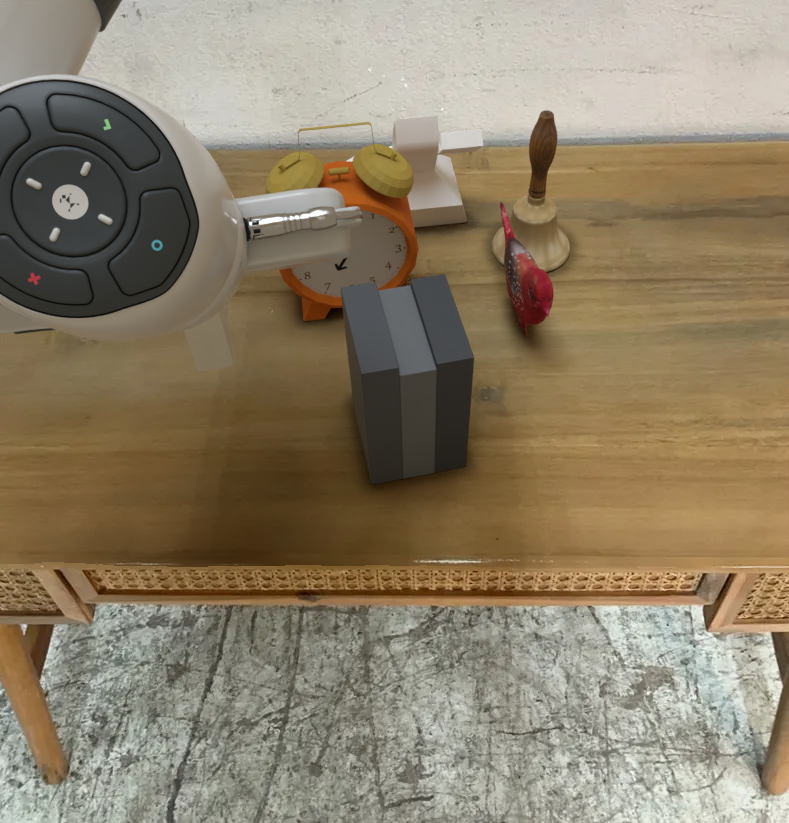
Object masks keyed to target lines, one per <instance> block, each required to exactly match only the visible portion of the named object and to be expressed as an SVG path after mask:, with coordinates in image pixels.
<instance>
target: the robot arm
mask: <svg viewBox="0 0 789 823" xmlns="http://www.w3.org/2000/svg"><path fill="white" fill-rule="evenodd" d="M122 1H123V0H0V335H9V334H14V335H22V334H30V333H37V332H38V333H39V332H50V331H57V332H60V333H63V334H65V335H69V336H73V337H77V338H83V339H87V340H92V341H99V342H111V343H112V342H116V343H117V342H120V343H121V342H123V343H125V342H134V341H143V340H149V339H152V338H157V337H161V336H165V335H170V334H174V333H179V332H184V331H183V330H187V329H190V328H193V327H195V326H198V325H200V324H202V323H204V322H206V321H208V320H209V319H211V318H212V317H213V316H215V315H216V314H217V313H218V312H220V311H221V310H222V309H223V308H224V307H225V306H226V305H227V306H228V304H229V302H230V301H231V300H232V299H233V298H234V296H235V294H236V293H237V291H238V289H239V287H240V286H241V283H242V281H243V279H244V276H248V275H254V274H260V273H261V274H262V273H266V272H267V273H268V272H272V271H273V272H274V271H279V270H280V269H287V268H293V267H299V266H306V265H312V264H318V263H325V262H331V261H336V260H341V259H344V258H347V257H349V256H350V255H351V254H352V244H351V237H350V230H349V228H352V227H355V226H358V225H360V224H361V222H362V217H363V213H362V212H361V211H360V208H359V207H357V206H355V207H347V208H346V207H345V202H344V198H343V196H342V194H341V193H340V192H339V191H337V190H336V189H333V188H310V189H298V190H291V191H284V192H277V193H270V194H267V193H264V194H258V195H252V196H251V195H250V196H244V197H243V196H242V197H237V198H235V196H234V194H233V192H232V190H231V188H230V187H229V184H228V182H227V179H226V177H225V176H224V174H223V172H222V171H221V168H220V166H219V165H218V163H217V162H216V160H215V159H214V158H213V156H212V155H211V154H210V152H209V151H208V149H207V148H206V147H205V146H204V144H203V143H202V142H201V141H200V140H199V139H198V138H197V137H196V136H195V135H194V134H193V132H191V131H190V130H189V129H188V128H187V127H186V126H185V127H184V126H183V125H182V124H181V123H180V122H178V121H177V120H178V119H176V118H175V117H173V116H172V114H169V113H168V112H166V110H163V109H162V108H160V107H158V106H157V105H155V104H154V103H152V102H150V101H149V100H147V99H146V98H144V97H142V96H140V95H138V94H136V93H135V92H132V91H129V90H128V89H125V88H123V87H121V86H118V85H116V84H113V83H110V82H107V81H104V80H100V79H98V78H93V77H88V76H85V75H84V76H83V75H80V74H81V71H82V69H83V67H84V65H85V63H86V61H87V57H88V56H89V54H90V51H91V50H92V47H93V45H94V44H95V41H96V39H97V36H98V34H99V33H102V32H104V31H105V30H106V28H107V27H108V25H109V23H110V21H111V19H112V18H113V16H114V15H115V14H116V12H117V10H118V8H119V6H120V5H121V3H122Z"/></svg>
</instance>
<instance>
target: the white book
mask: <svg viewBox="0 0 789 823" xmlns="http://www.w3.org/2000/svg"><path fill="white" fill-rule="evenodd" d="M176 120H177V121H178V122H180V123H181V124H182V125H183V126H184V127H186V124H185V120H184V119H183V118H181V119H176ZM230 328H231V327H230V320H229V312H228V304H227V305H226V306H225V307H224V308H223V309H222V310H221V311H220V312H218V313H217V314H216V315H215V316H213V317H212V318H211V319H209V320H208V321H206V322H204V323H202V324H200V325H198V326H195V327H193V328H190V329H187V330H183V331H182V332H183V334H184V337H185V341H186V343H187V346H188V349H189V352H190V355H191V359H192V361H193V364H194V367H195V371H196V372H197V373H203V372H208V371H214V370H220V369H226V368H232V367H235V362H234V354H233V346H232V345H233V344H232V337H231V329H230Z"/></svg>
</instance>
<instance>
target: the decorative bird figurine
mask: <svg viewBox="0 0 789 823" xmlns="http://www.w3.org/2000/svg"><path fill="white" fill-rule="evenodd" d="M499 210H500V216H501V223H502V227H503V228H504V234H505V253H504V264H505V266H504V272H505V273H504V274H505V282H506V289H507V295H508V297H509V300H510V303H511V306H512V308H513V310H514V312H515V314H516V316H517V318H518V323H519V325H520V328H521V329H522V330H523V331H524V334H525V335H526V339H527V340H529V332H528V330H527V328H528V327H527V326H528V325H529V326H536V325H540V324H541V323H543V322H544V321H545V320H546V318H547V317H549V316H550V311H551V310H552V306H553V301H554V287H553V283H552V279H551V278H550V276H549V274H548V272H545V271H544V270H543V269H539V267H538V266H537V264H536V262H535V261H534V259H533V257H532V256H531V254H530V253H529V252H528V251H527V249H526V248H525V247H524V246H523V245H522V244H521V243H520V242H519V241H518V240H516V238H515V236H514V234H513V231H512V228H511V225H510V222H509V221H510V218H509V216H508V213H507V210H506V208H505V205H504V203H503V202H502V201H500V204H499Z"/></svg>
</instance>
